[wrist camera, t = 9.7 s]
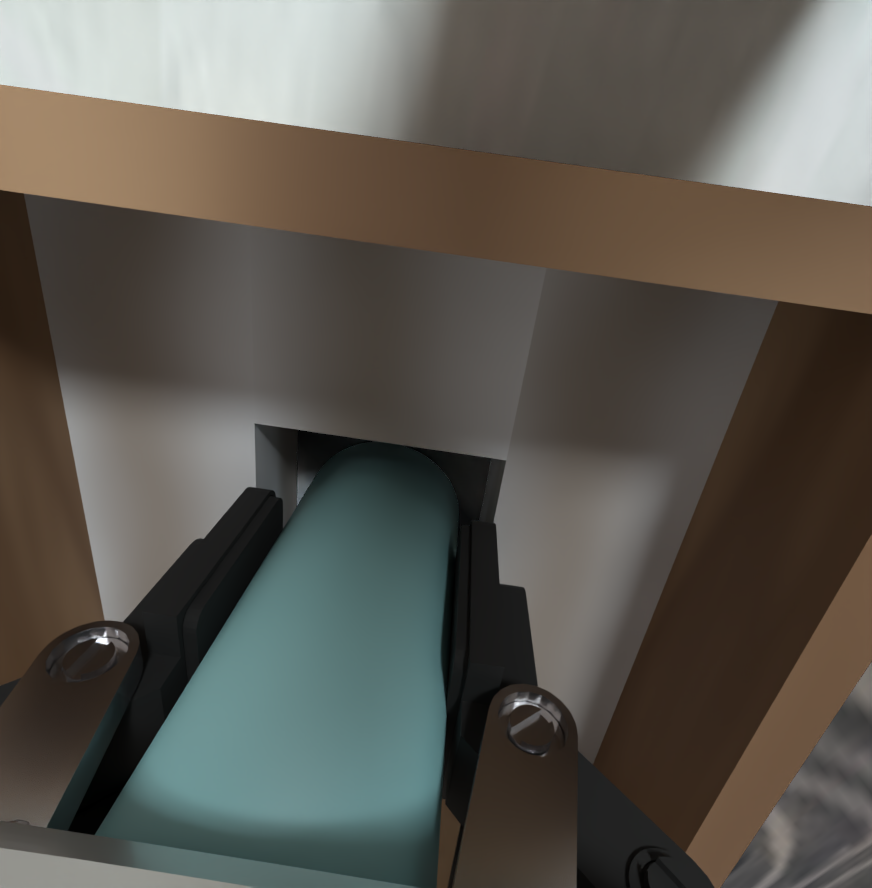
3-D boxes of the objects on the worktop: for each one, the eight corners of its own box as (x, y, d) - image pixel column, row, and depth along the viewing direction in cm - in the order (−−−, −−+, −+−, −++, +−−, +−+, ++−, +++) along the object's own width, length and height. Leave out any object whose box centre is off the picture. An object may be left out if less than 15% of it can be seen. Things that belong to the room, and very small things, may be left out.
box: (773, 228, 11) (1150, 245, 5) (592, 713, 18) (655, 984, 12) (75, 130, 12) (-412, 25, 5) (149, 645, 18) (-25, 875, 12)
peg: (470, 454, 13) (451, 1061, 4) (447, 581, 14) (397, 1214, 5) (311, 430, 13) (-101, 973, 4) (308, 559, 14) (19, 1150, 5)
